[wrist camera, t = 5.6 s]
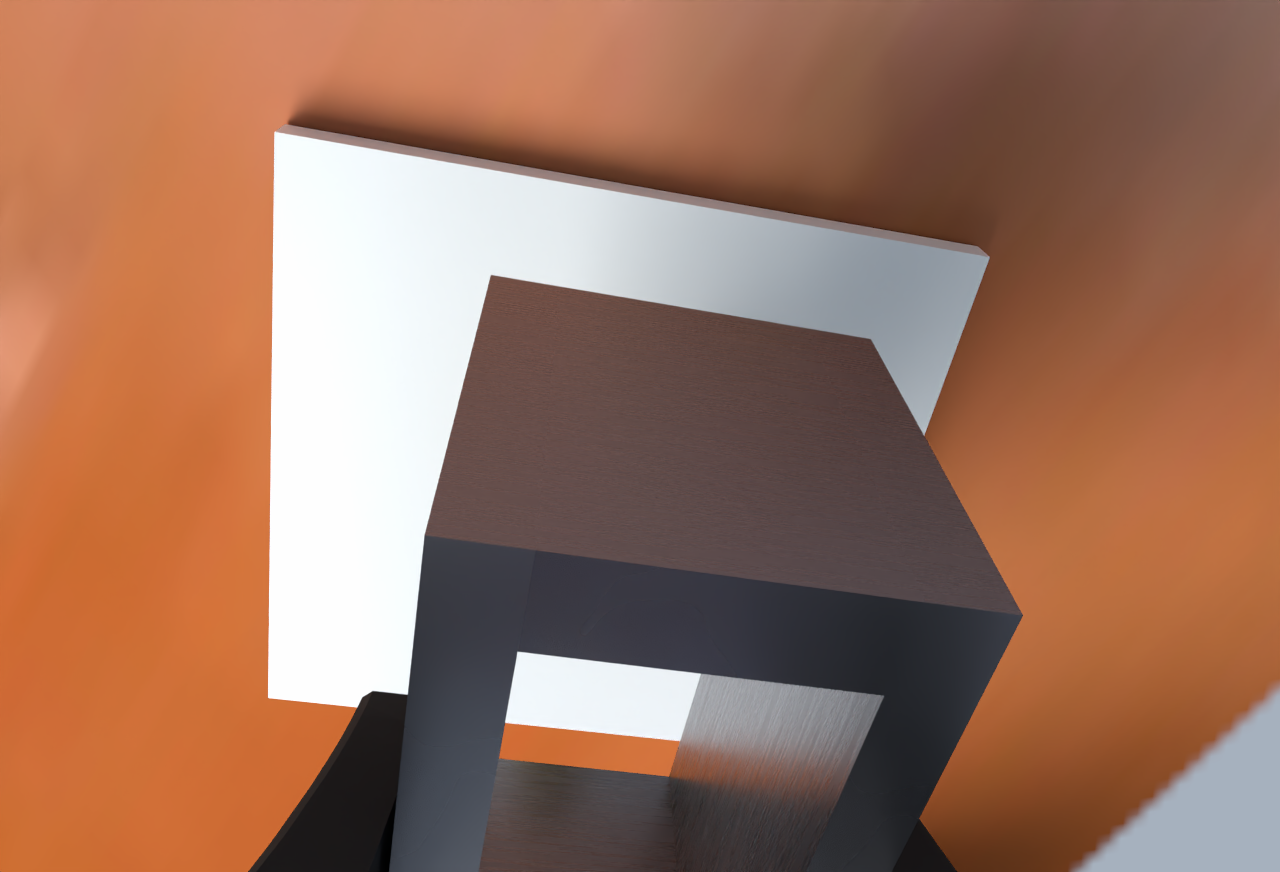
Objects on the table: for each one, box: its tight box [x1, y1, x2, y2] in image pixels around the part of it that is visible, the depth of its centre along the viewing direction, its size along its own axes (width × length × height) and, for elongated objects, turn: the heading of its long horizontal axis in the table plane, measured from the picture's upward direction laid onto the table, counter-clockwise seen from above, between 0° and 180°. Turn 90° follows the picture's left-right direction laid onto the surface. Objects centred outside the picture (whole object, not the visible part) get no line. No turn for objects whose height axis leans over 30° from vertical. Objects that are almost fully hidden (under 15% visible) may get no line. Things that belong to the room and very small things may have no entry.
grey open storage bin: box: [389, 275, 1023, 872], centre depth 12 cm, size 9×5×5 cm, turn 169°
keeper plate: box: [268, 124, 990, 741], centre depth 18 cm, size 12×12×4 cm
